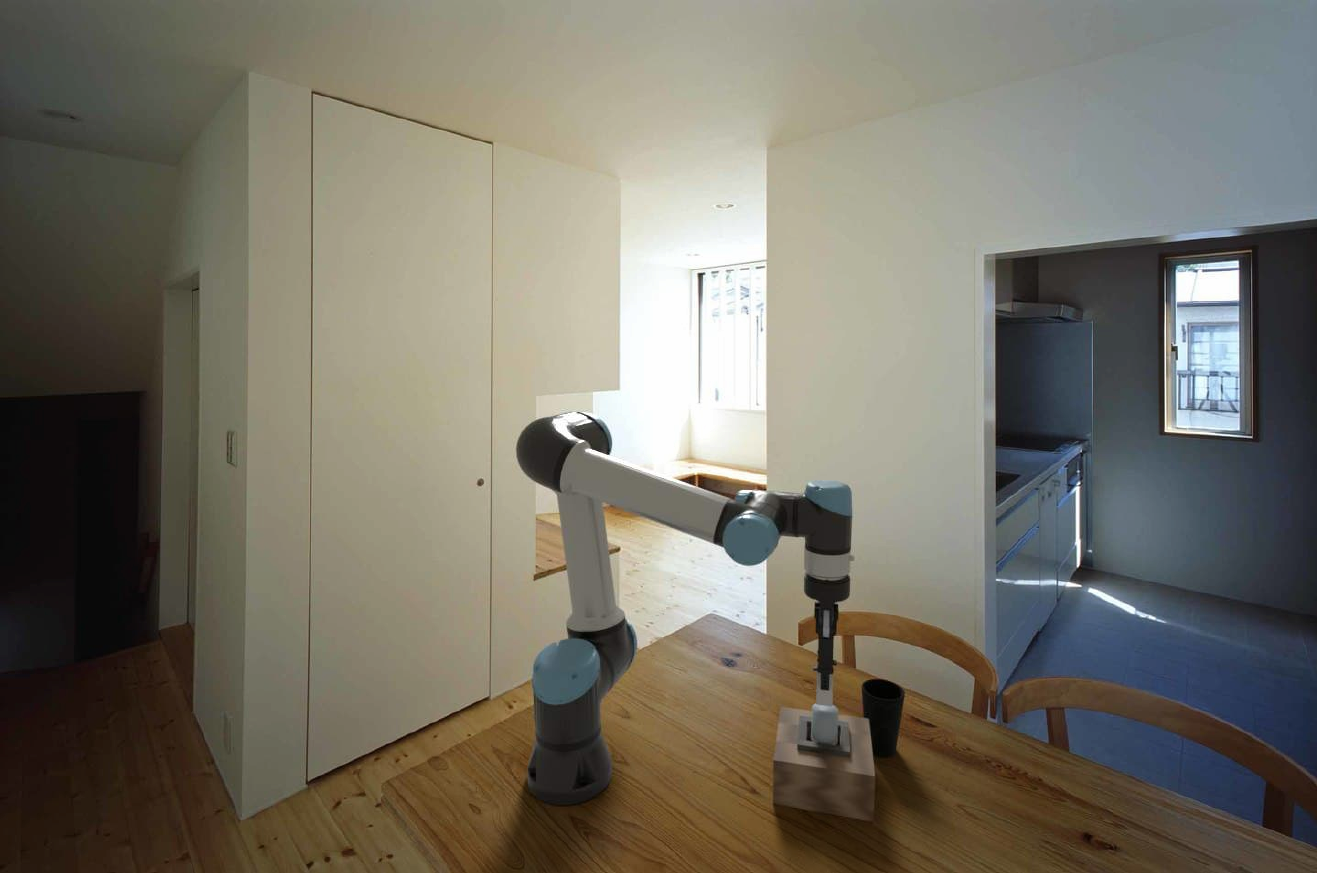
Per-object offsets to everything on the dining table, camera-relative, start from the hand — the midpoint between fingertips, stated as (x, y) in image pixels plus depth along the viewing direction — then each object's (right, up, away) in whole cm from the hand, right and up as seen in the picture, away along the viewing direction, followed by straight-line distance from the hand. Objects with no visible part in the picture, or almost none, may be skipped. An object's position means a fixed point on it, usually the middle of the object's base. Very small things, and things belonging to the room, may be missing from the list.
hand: (824, 703), depth 106 cm
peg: (0, -13, +2) cm, 13 cm away
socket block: (0, -14, +2) cm, 15 cm away
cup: (+14, -13, +10) cm, 22 cm away
